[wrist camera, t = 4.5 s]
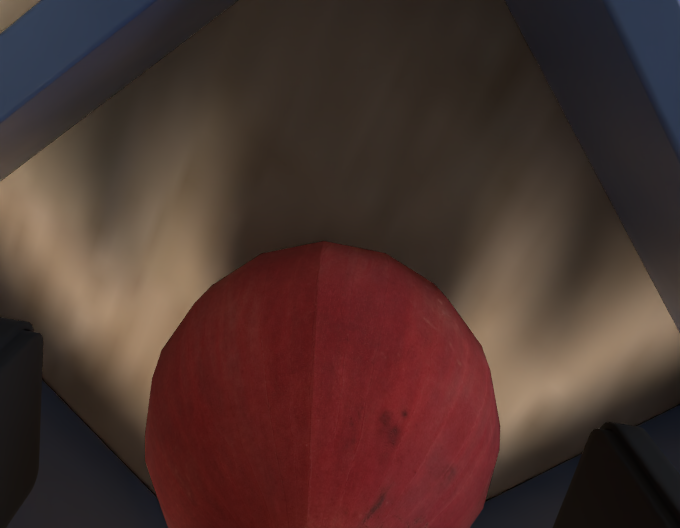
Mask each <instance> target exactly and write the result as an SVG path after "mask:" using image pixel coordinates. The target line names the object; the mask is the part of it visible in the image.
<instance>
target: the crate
mask: <svg viewBox="0 0 680 528" xmlns="http://www.w3.org/2000/svg"><path fill="white" fill-rule="evenodd" d="M237 1H238V0H40V1H39V2H38V3H37V4H36V5H34V6H33V7H32V8H31V9H30V10H28V11H27V12H26V13H25V14H24V15H22V16H21V17H20V18H19V19H18V20H16V21H15V22H14V23H13V24H11V25H10V26H9V27H8V28H7V29H5V30H4V31H3V32H2V33H1V34H0V181H1V180H3V179H4V178H5V177H7V176H8V175H9V174H11V173H12V172H13V171H14V170H16V169H17V168H18V167H20V166H21V165H22V164H24V163H25V162H26V161H28V160H29V159H30V158H32V157H33V156H34V155H36V154H37V153H38V152H39V151H41V150H42V149H43V148H45V147H46V146H47V145H49V144H50V143H51V142H53V141H54V140H55V139H57V138H58V137H59V136H61V135H62V134H63V133H64V132H66V131H67V130H68V129H70V128H71V127H72V126H74V125H75V124H76V123H78V122H79V121H80V120H82V119H83V118H84V117H86V116H87V115H88V114H89V113H91V112H92V111H93V110H95V109H96V108H97V107H99V106H100V105H101V104H103V103H104V102H105V101H107V100H108V99H109V98H111V97H112V96H113V95H114V94H116V93H117V92H118V91H120V90H121V89H122V88H124V87H125V86H126V85H128V84H129V83H130V82H132V81H133V80H134V79H136V78H137V77H138V76H140V75H141V74H142V73H143V72H145V71H146V70H147V69H149V68H150V67H151V66H153V65H154V64H155V63H157V62H158V61H159V60H161V59H162V58H163V57H165V56H166V55H167V54H168V53H170V52H171V51H172V50H174V49H175V48H176V47H178V46H179V45H180V44H182V43H183V42H184V41H186V40H187V39H188V38H190V37H191V36H192V35H193V34H195V33H196V32H197V31H199V30H200V29H201V28H203V27H204V26H205V25H207V24H208V23H209V22H211V21H212V20H213V19H215V18H216V17H217V16H218V15H220V14H221V13H222V12H224V11H225V10H226V9H228V8H229V7H230V6H232V5H233V4H234V3H236V2H237ZM505 2H506V4H507V6H508V8H509V10H510V12H511V14H512V16H513V18H514V19H515V21H516V23H517V25H518V27H519V29H520V31H521V33H522V35H523V36H524V38H525V40H526V42H527V44H528V46H529V48H530V50H531V52H532V54H533V55H534V57H535V59H536V61H537V63H538V65H539V67H540V69H541V71H542V73H543V74H544V76H545V78H546V80H547V82H548V84H549V86H550V88H551V90H552V91H553V93H554V95H555V97H556V99H557V101H558V103H559V105H560V107H561V109H562V110H563V112H564V114H565V116H566V118H567V120H568V122H569V124H570V126H571V128H572V129H573V131H574V133H575V135H576V137H577V139H578V141H579V143H580V145H581V146H582V148H583V150H584V152H585V154H586V156H587V158H588V160H589V162H590V164H591V165H592V167H593V169H594V171H595V173H596V175H597V177H598V179H599V181H600V183H601V184H602V186H603V188H604V190H605V192H606V194H607V196H608V198H609V200H610V201H611V203H612V205H613V207H614V209H615V211H616V213H617V215H618V217H619V219H620V220H621V222H622V224H623V226H624V228H625V230H626V232H627V234H628V236H629V238H630V239H631V241H632V243H633V245H634V247H635V249H636V251H637V253H638V255H639V256H640V258H641V260H642V262H643V264H644V266H645V268H646V270H647V272H648V274H649V275H650V277H651V279H652V281H653V283H654V285H655V287H656V289H657V291H658V293H659V294H660V296H661V298H662V300H663V302H664V304H665V306H666V308H667V310H668V311H669V313H670V315H671V317H672V319H673V321H674V323H675V325H676V327H677V329H678V330H679V332H680V0H505ZM636 427H640V428H643V429H644V430H645V431H646V432H647V433H648V434H649V435H650V437H651V438H652V439H653V440H654V442H655V443H656V444H657V445H658V447H659V448H660V449H661V451H662V452H663V453H664V454H665V456H666V457H667V458H668V459H669V461H670V462H671V463H672V464H673V466H674V467H675V468H676V469H677V471H678V472H679V473H680V405H678V406H676V407H674V408H672V409H670V410H668V411H666V412H664V413H662V414H660V415H658V416H656V417H654V418H652V419H650V420H648V421H646V422H644V423H642V424H640V425H638V426H636ZM581 455H582V454H580V455H578V456H576V457H574V458H572V459H570V460H568V461H566V462H564V463H562V464H560V465H558V466H556V467H554V468H552V469H550V470H548V471H546V472H544V473H542V474H540V475H538V476H536V477H534V478H532V479H530V480H528V481H526V482H524V483H522V484H520V485H518V486H516V487H514V488H512V489H510V490H508V491H506V492H504V493H502V494H500V495H498V496H496V497H494V498H492V499H490V500H488V501H486V502H485V503H484V507H483V510H482V511H481V512H480V514H479V515H478V517H477V518H476V519H475V521H474V522H473V524H472V525H471V527H470V528H553V525H554V523H555V520H556V518H557V515H558V513H559V510H560V508H561V505H562V503H563V500H564V498H565V495H566V493H567V490H568V488H569V485H570V483H571V480H572V478H573V475H574V473H575V470H576V468H577V465H578V463H579V460H580V458H581ZM6 528H168V526H167V524H166V521H165V518H164V515H163V512H162V509H161V506H160V503H159V501H158V498H157V497H156V496H155V495H154V494H153V493H152V492H151V491H150V490H149V489H148V488H147V487H146V486H145V485H144V484H143V483H142V482H141V481H140V480H139V479H138V478H137V477H136V476H135V475H134V474H133V473H132V472H131V471H130V470H129V469H128V467H127V466H126V465H125V464H124V463H123V462H122V461H121V460H120V459H119V458H118V457H117V456H116V455H115V454H114V453H113V452H112V451H111V450H110V449H109V448H108V447H107V446H106V445H105V444H104V443H103V442H102V441H101V440H100V439H99V438H98V437H97V436H96V434H95V433H94V432H93V431H92V430H91V429H90V428H89V427H88V426H87V425H86V424H85V423H84V422H83V421H82V420H81V419H80V418H79V417H78V416H77V415H76V414H75V413H74V412H73V411H72V410H71V409H70V408H69V407H68V406H67V405H66V404H65V403H64V401H63V400H62V399H61V398H60V397H59V396H58V395H57V394H56V393H55V392H54V391H53V390H52V389H51V388H50V387H49V386H48V385H47V384H46V383H45V382H44V381H43V380H42V394H41V423H40V451H39V470H38V475H37V479H36V482H35V484H34V486H33V489H32V490H31V492H30V494H29V495H28V497H27V498H26V499H25V501H24V502H23V504H22V505H21V507H20V508H19V510H18V511H17V513H16V514H15V516H14V517H13V518H12V520H11V521H10V523H9V524H8V526H7V527H6Z"/></svg>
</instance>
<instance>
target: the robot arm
mask: <svg viewBox="0 0 680 528" xmlns="http://www.w3.org/2000/svg"><path fill="white" fill-rule="evenodd" d="M42 366H43V337H42V335H41V334H40V333H37V332H34V329H33V326H32V324H31V323H30V322H25V321H19V320H14V319H8V318H2V317H0V528H6V527H7V526H8V524H9V523H10V521H11V520H12V518H13V517H14V516H15V514H16V513H17V511H18V510H19V508H20V507H21V505H22V504H23V502H24V501H25V499H26V498H27V497H28V495H29V494H30V492H31V490H32V489H33V486H34V484H35V482H36V479H37V475H38V470H39V451H40V423H41V394H42ZM553 528H680V473H679V472H678V471H677V469H676V468H675V467H674V466H673V464H672V463H671V462H670V461H669V459H668V458H667V457H666V456H665V454H664V453H663V452H662V451H661V449H660V448H659V447H658V445H657V444H656V443H655V442H654V440H653V439H652V438H651V437H650V435H649V434H648V433H647V432H646V431H645V430H644V429H643V428H640V427H636V426H630V425H624V424H618V423H612V422H607V423H605V424H604V425H603V426H602V427H601V428H600V429H598V428H597V429H594V430H593V431H592V432H591V434H590V436H589V438H588V440H587V443H586V445H585V448H584V450H583V453H582V455H581V458H580V460H579V463H578V465H577V468H576V470H575V473H574V475H573V478H572V480H571V483H570V485H569V488H568V490H567V493H566V495H565V498H564V500H563V503H562V505H561V508H560V510H559V513H558V515H557V518H556V520H555V523H554V525H553Z"/></svg>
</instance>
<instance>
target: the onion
mask: <svg viewBox="0 0 680 528" xmlns="http://www.w3.org/2000/svg"><path fill="white" fill-rule="evenodd" d="M499 445H500V422H499V417H498V411H497V406H496V400H495V395H494V389H493V384H492V378H491V373H490V368H489V366H488V363H487V360H486V357H485V354H484V352H483V349H482V346H481V344H480V343H479V342H478V340H477V339H476V337H475V336H474V335H473V333H472V332H471V331H470V329H469V328H468V326H467V325H466V324H465V322H464V321H463V319H462V318H461V317H460V315H459V314H458V312H457V311H456V310H455V308H454V307H453V305H452V304H451V303H450V301H449V300H448V299H447V297H446V296H445V295H444V294H443V293H442V292H441V291H440V290H439V289H438V287H437V286H436V285H435V284H434V283H432V282H431V281H429V280H427V279H426V278H424V277H423V276H421V275H419V274H418V273H416V272H415V271H413V270H412V269H410V268H408V267H407V266H405V265H404V264H402V263H400V262H399V261H397V260H396V259H394V258H392V257H391V256H389V255H388V254H386V253H382V252H377V251H372V250H367V249H362V248H357V247H352V246H347V245H342V244H337V243H332V242H327V241H321V242H316V243H311V244H306V245H301V246H296V247H291V248H286V249H281V250H276V251H272V252H267V253H262V254H260V255H259V256H257V257H255V258H254V259H252V260H251V261H249V262H248V263H246V264H244V265H243V266H241V267H240V268H238V269H237V270H235V271H234V272H232V273H230V274H229V275H227V276H226V277H224V278H223V279H221V280H219V281H218V282H216V283H215V284H213V285H212V286H211V287H210V288H209V289H208V290H207V291H206V292H205V293H204V294H203V295H202V296H201V297H200V298H199V299H198V300H197V301H196V302H195V303H194V305H193V306H192V308H191V309H190V310H189V312H188V313H187V315H186V316H185V318H184V319H183V321H182V322H181V323H180V325H179V326H178V328H177V329H176V331H175V332H174V333H173V335H172V336H171V338H170V339H169V341H168V342H167V343H166V345H165V346H164V348H163V349H162V351H161V354H160V357H159V360H158V363H157V366H156V369H155V372H154V374H153V377H152V383H151V391H150V399H149V407H148V415H147V423H146V430H145V462H146V465H147V468H148V471H149V474H150V477H151V480H152V483H153V486H154V489H155V492H156V495H157V498H158V501H159V503H160V506H161V509H162V512H163V515H164V518H165V521H166V524H167V526H168V528H470V527H471V525H472V524H473V522H474V521H475V519H476V518H477V517H478V515H479V514H480V512H481V511H482V510H483V507H484V503H485V500H486V496H487V493H488V489H489V485H490V482H491V478H492V475H493V471H494V468H495V464H496V460H497V457H498V453H499Z"/></svg>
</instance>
